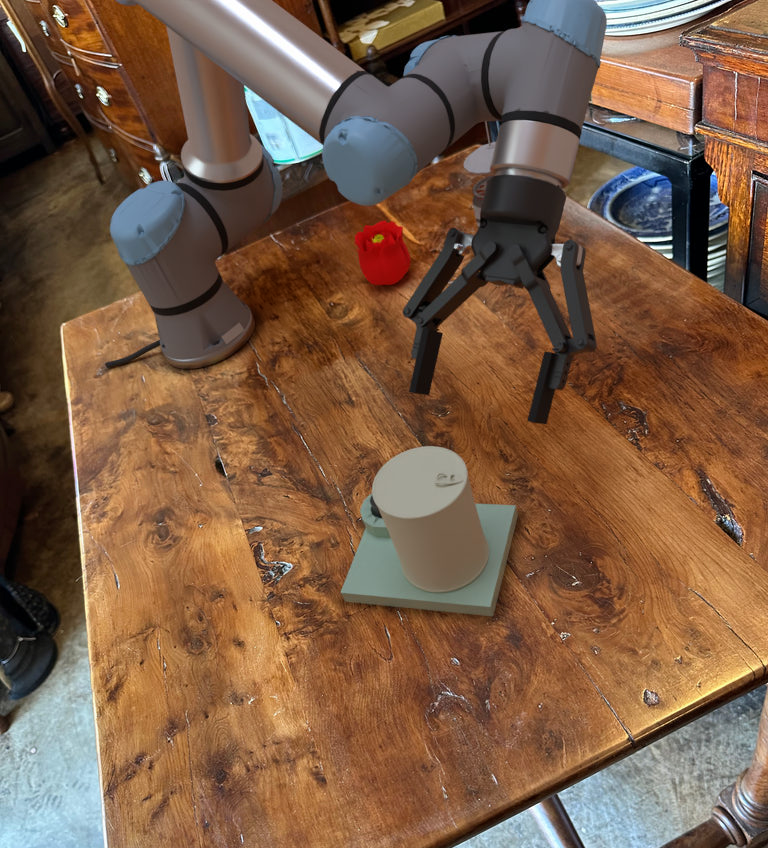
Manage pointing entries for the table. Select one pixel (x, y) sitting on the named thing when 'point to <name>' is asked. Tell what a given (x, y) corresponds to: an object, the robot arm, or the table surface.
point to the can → (432, 518)
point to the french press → (480, 172)
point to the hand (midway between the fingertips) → (475, 408)
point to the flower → (382, 253)
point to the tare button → (375, 507)
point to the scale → (386, 585)
